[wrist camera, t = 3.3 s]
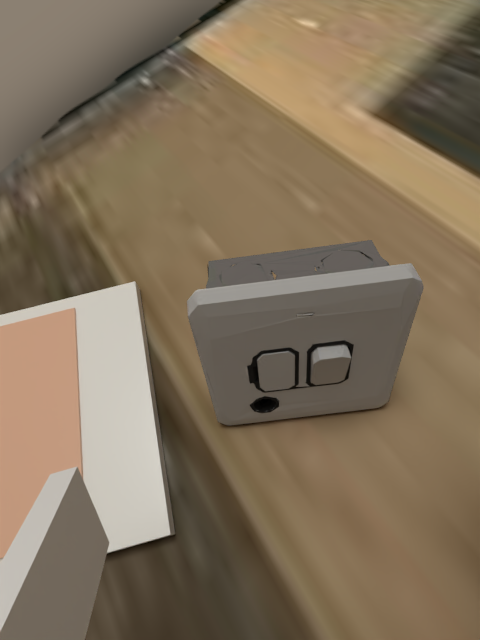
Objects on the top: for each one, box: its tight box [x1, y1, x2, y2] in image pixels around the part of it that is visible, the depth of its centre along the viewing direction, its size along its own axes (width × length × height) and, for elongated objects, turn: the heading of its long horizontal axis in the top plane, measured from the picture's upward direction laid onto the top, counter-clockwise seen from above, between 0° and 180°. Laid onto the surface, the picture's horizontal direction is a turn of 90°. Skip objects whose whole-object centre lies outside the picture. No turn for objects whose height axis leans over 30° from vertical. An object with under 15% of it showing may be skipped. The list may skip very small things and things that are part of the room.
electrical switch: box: [187, 240, 423, 426], centre depth 19 cm, size 9×5×9 cm, turn 96°
